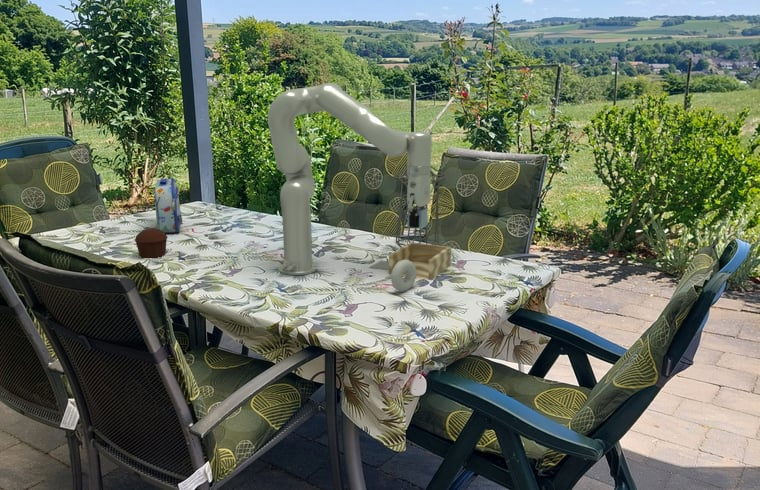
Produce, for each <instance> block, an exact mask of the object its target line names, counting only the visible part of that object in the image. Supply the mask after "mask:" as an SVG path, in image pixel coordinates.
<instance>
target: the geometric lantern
mask: <svg viewBox="0 0 760 490" xmlns="http://www.w3.org/2000/svg"><path fill="white" fill-rule="evenodd" d="M432 169H433V170H435V171H436V172H437V173H439V174H436V173H435V172H434V171H432ZM393 177H394V178H396V179H397V180H399V182H401V183H400V184H401V185H400V205H399V211H398V212H399V213H398V219H397V227H396V234H395V235H396V236H395V241H394V242H395V244H396V245H397V246H398V247H399V249H400V248H402V247H403V246H405V245H407V244H405V243H400V242H403V241H404V240H407V239H408V243H410V242H411V241H410V239H412V243H415V239H418V243H421V242H422V240H424V241H425V244H428V241H431V242H432V243H431V244H430V245H439V244H440V237H439V236H440V231H439V230H440V229H439V225H440V224H439V188H440V186H441V184H442V183H443V182H444V181H445V180H446V179H447V178H448V175H447V174H445V173H444V172H442V171H440V170H439V169H437V168H436V167H433V166H432V165H431V169H430V185H432V189H430V197H434V198H430V201H434V200H435V201H436V202H435V221H434V222H435V227H434V239H431V238H428V225H427V226H426V227H425V237H422V229H419V235H418V236H417V228H414V234H413V236H410V232H411V231H410V230H411V228H410V227H408V229H407V236H406V237H404V238H400V236H401V227H402V210H403V200H407V194H406V193H407V188H408V178H409V176H408V175H407V167H406V168H404V169H402V170H400V171H398V172H397V173H395V174H393ZM435 178H436V179H435ZM403 179H405V180H404V181H403ZM437 182H438V183H437ZM436 183H437V185H436ZM403 184H404V186H405V189H404V192H403ZM436 189H437V190H436ZM433 190H434V193H435V195H433V194H431V193H432V192H433ZM415 206H417V205H416V204H415ZM426 208H428V204H427V205H426ZM421 244H422V243H421Z"/></svg>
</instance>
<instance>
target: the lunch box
mask: <svg viewBox="0 0 760 490" xmlns="http://www.w3.org/2000/svg"><path fill="white" fill-rule="evenodd" d="M154 208H155V219H156V228H157V229H160V230H161V231H163V232H164V233H165V234H174V233H175V232H176V233H179V232H180V229H181V226H182V225H183V217H182V214H181V213H182V212H181V205H180V198H179V188H178V186H177V183H176V179H175V178H160V179H157V181H156V183H155V187H154Z"/></svg>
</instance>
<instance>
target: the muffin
mask: <svg viewBox="0 0 760 490" xmlns="http://www.w3.org/2000/svg"><path fill="white" fill-rule="evenodd" d="M168 238H169V237H168V236H167V233H164V232H163V231H161V230H160V229H157V227H156V228H155V227H149V228H145V229H142V230H141V231H140V232H138V233H137V235H136V237H135V238H134V241H135V244H136V247H137V251H138V255H139V257H140V258H141V259H143V258H156V259H159V258H158V257H160V258H163V257H164V256H166V251H167V240H168ZM162 256H163V257H162Z"/></svg>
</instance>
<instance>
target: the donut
mask: <svg viewBox="0 0 760 490" xmlns="http://www.w3.org/2000/svg"><path fill="white" fill-rule="evenodd" d="M404 271H405V272H406V276H404V278H403V276H402V275H403V272H404ZM390 275H391V276H390V281H391V285H392V287H393V288H394V289H395V290H396V291H398V292H406V291H408V290H410V289H411V288H412V286H413V285H414V284H415V282H416V279H417V278H416V268H415V265H414V264H413V263H412V262H411V261H409V260H401V261H399V262H398V263H397V264H396V265H395V266H394V268H393V270H392V273H391V274H390Z"/></svg>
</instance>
